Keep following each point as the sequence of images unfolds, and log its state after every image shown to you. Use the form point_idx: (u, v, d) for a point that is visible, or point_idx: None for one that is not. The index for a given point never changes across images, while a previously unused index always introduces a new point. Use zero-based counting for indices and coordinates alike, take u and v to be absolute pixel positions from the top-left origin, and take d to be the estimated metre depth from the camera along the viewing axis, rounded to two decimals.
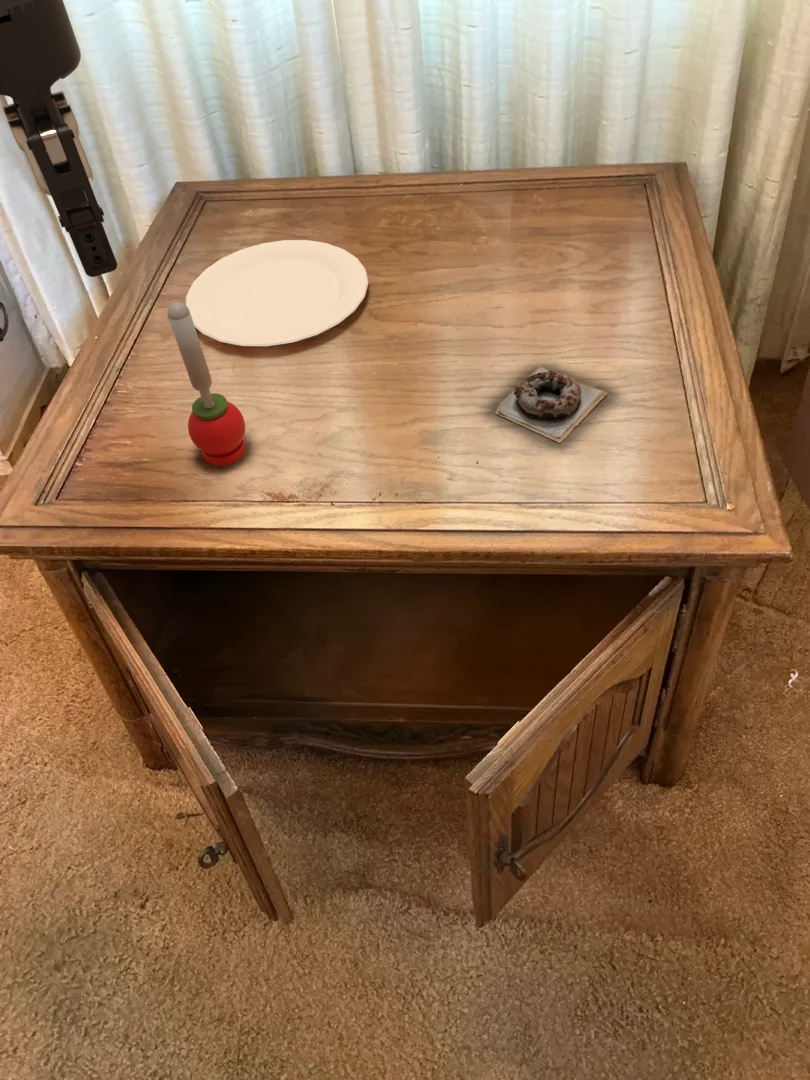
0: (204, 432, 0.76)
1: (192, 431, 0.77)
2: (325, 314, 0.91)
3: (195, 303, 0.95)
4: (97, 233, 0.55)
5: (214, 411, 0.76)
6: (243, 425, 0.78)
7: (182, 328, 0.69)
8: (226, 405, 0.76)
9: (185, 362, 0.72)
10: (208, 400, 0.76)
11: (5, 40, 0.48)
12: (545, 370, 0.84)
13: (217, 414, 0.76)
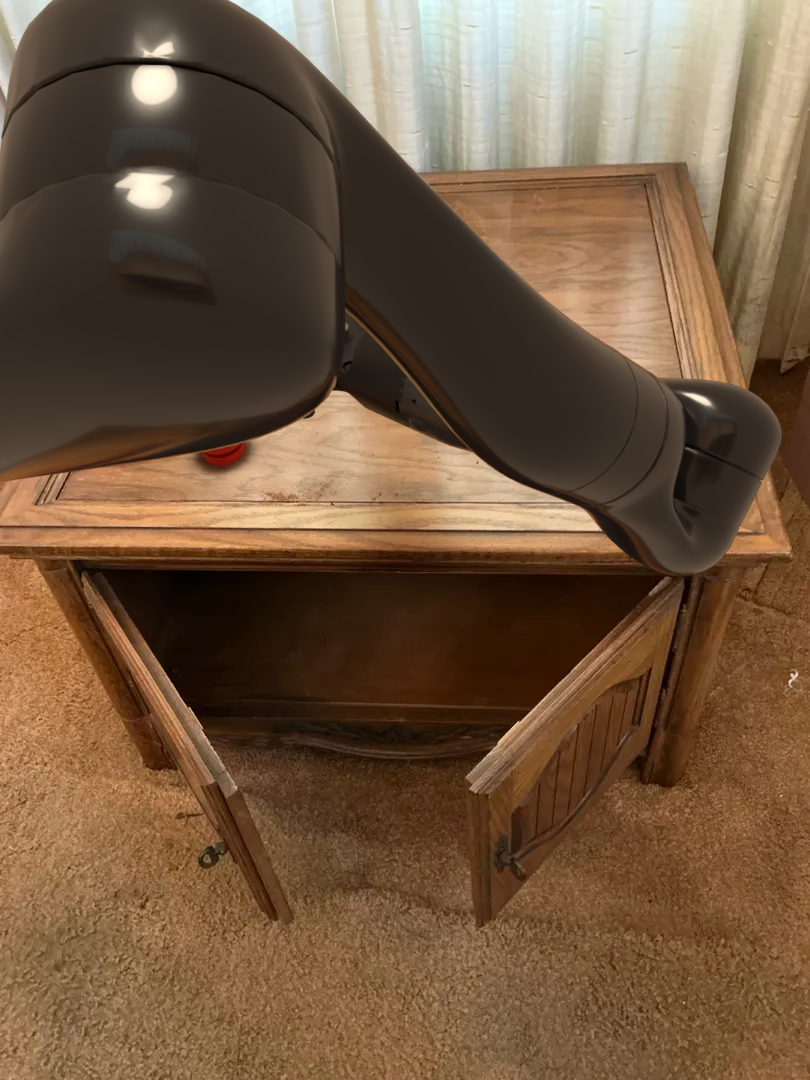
0: None
1: None
2: None
3: None
4: None
5: None
6: None
7: None
8: None
9: None
10: None
11: (384, 398, 0.52)
12: None
13: None
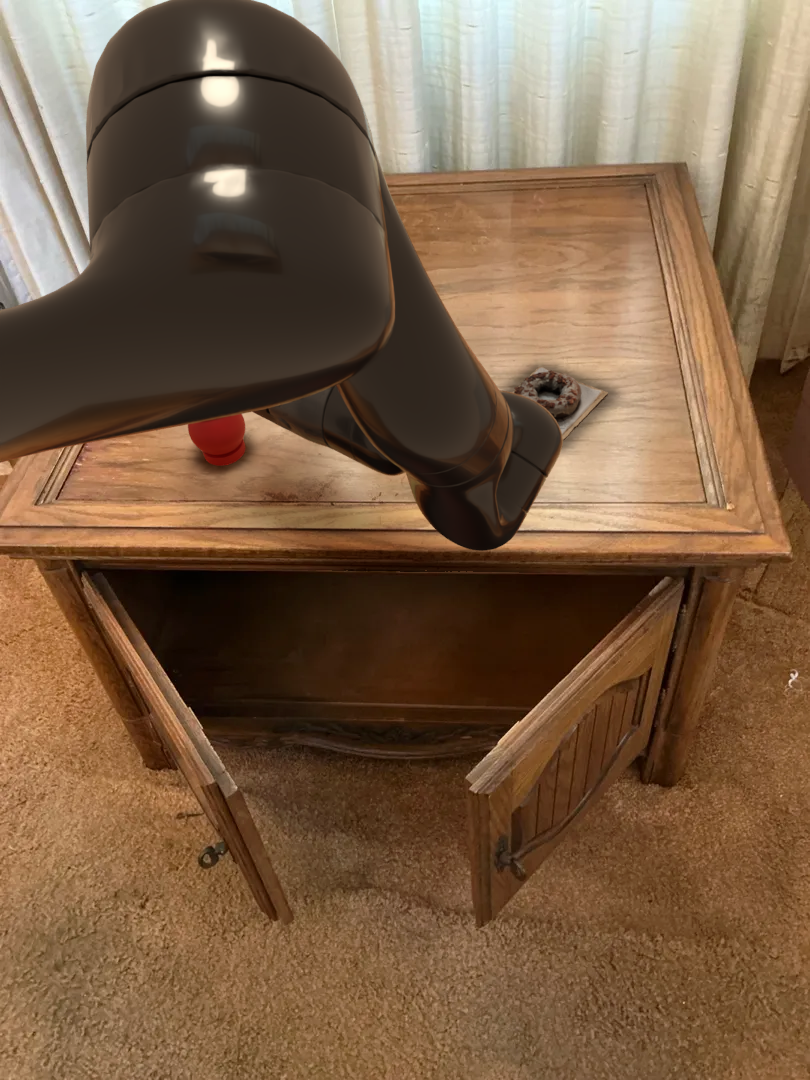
0: (204, 431, 0.76)
1: (192, 431, 0.77)
2: None
3: None
4: None
5: None
6: (243, 425, 0.78)
7: None
8: None
9: None
10: None
11: None
12: (545, 370, 0.84)
13: None
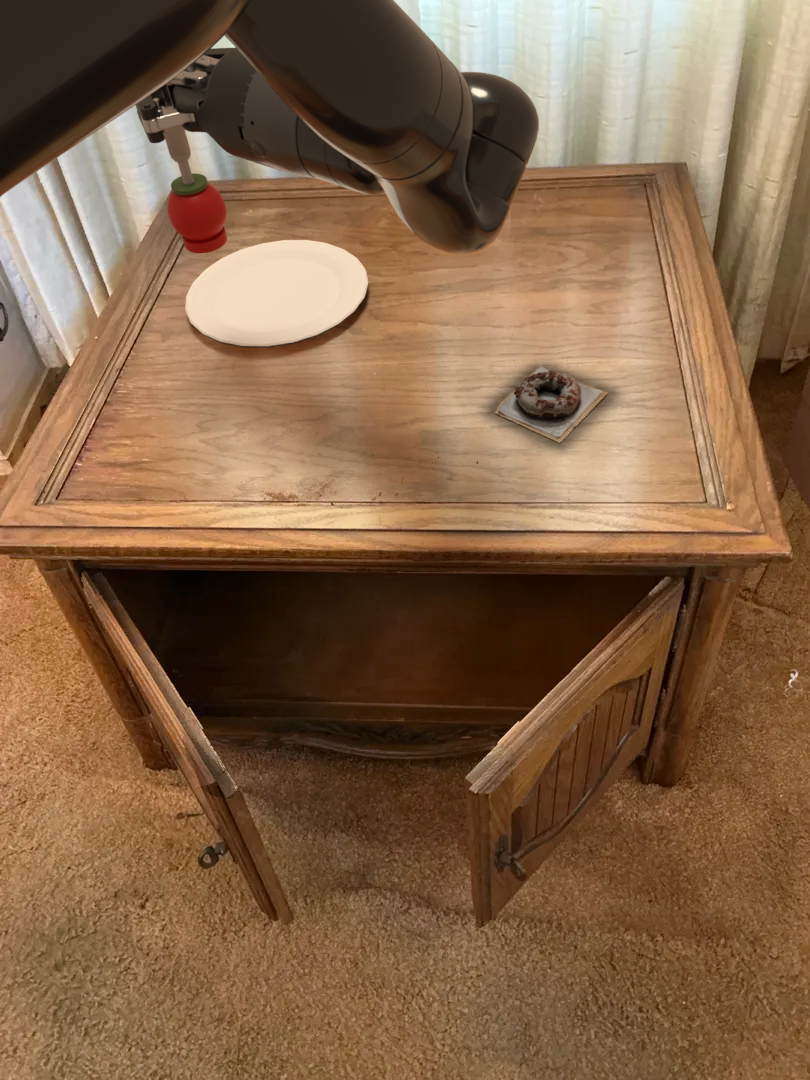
0: (184, 208, 0.74)
1: (171, 210, 0.75)
2: (325, 314, 0.91)
3: (195, 302, 0.95)
4: None
5: (193, 186, 0.74)
6: (224, 208, 0.76)
7: None
8: (206, 182, 0.75)
9: None
10: (187, 175, 0.74)
11: (231, 126, 0.61)
12: (545, 370, 0.84)
13: (196, 189, 0.74)
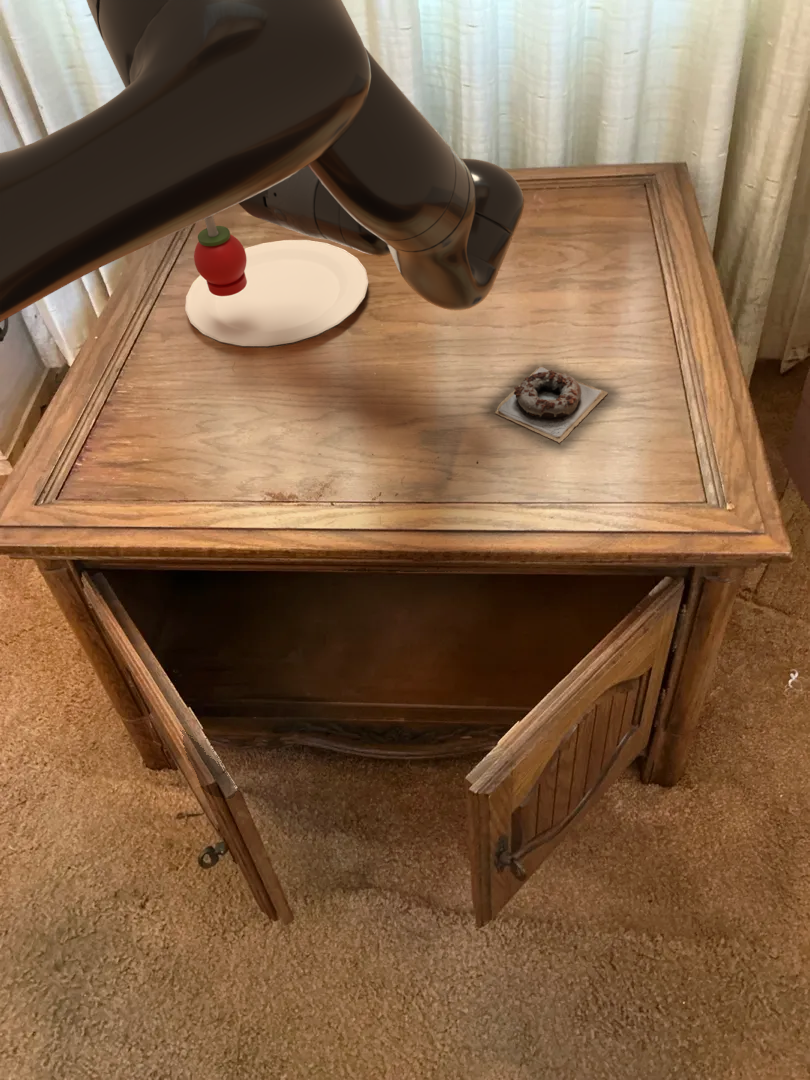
0: (209, 258, 0.83)
1: (197, 259, 0.84)
2: (325, 314, 0.91)
3: (195, 302, 0.95)
4: None
5: (218, 238, 0.83)
6: (244, 256, 0.85)
7: None
8: (229, 234, 0.84)
9: None
10: (212, 228, 0.83)
11: (256, 196, 0.70)
12: (545, 370, 0.84)
13: (221, 241, 0.83)
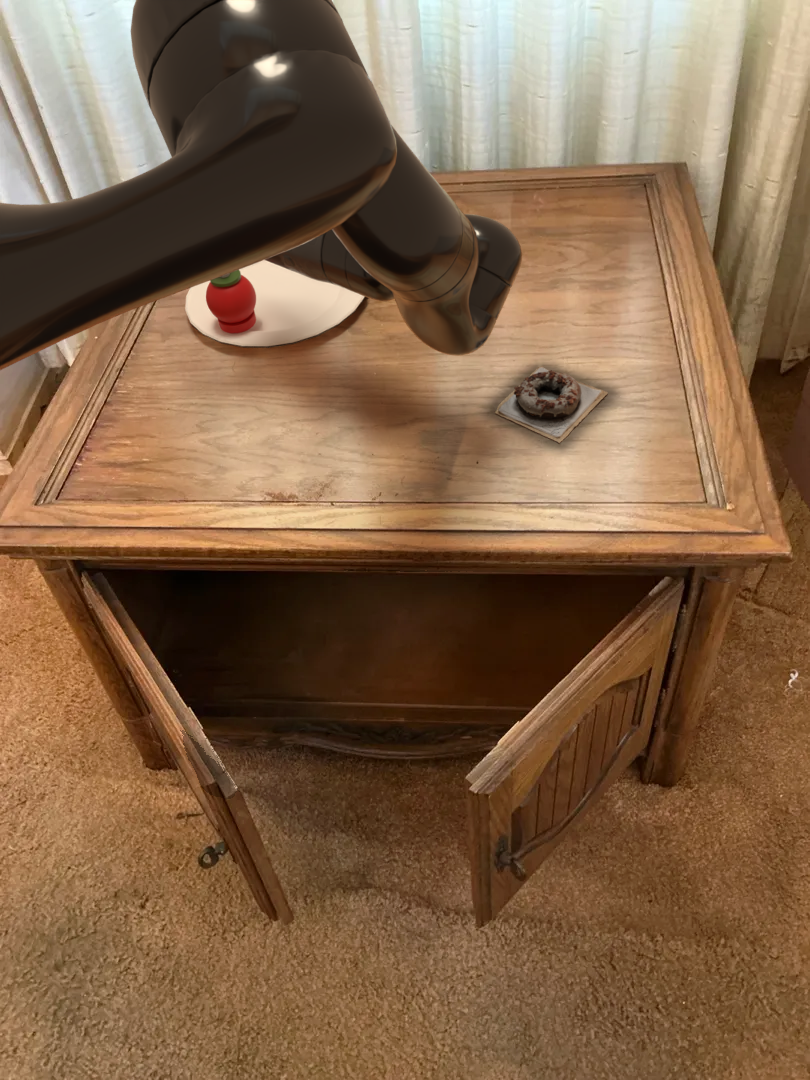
0: (221, 298, 0.87)
1: (209, 299, 0.88)
2: (325, 314, 0.91)
3: (195, 302, 0.95)
4: None
5: (229, 279, 0.87)
6: (254, 295, 0.89)
7: None
8: (240, 275, 0.87)
9: None
10: None
11: None
12: (545, 370, 0.84)
13: (232, 282, 0.86)
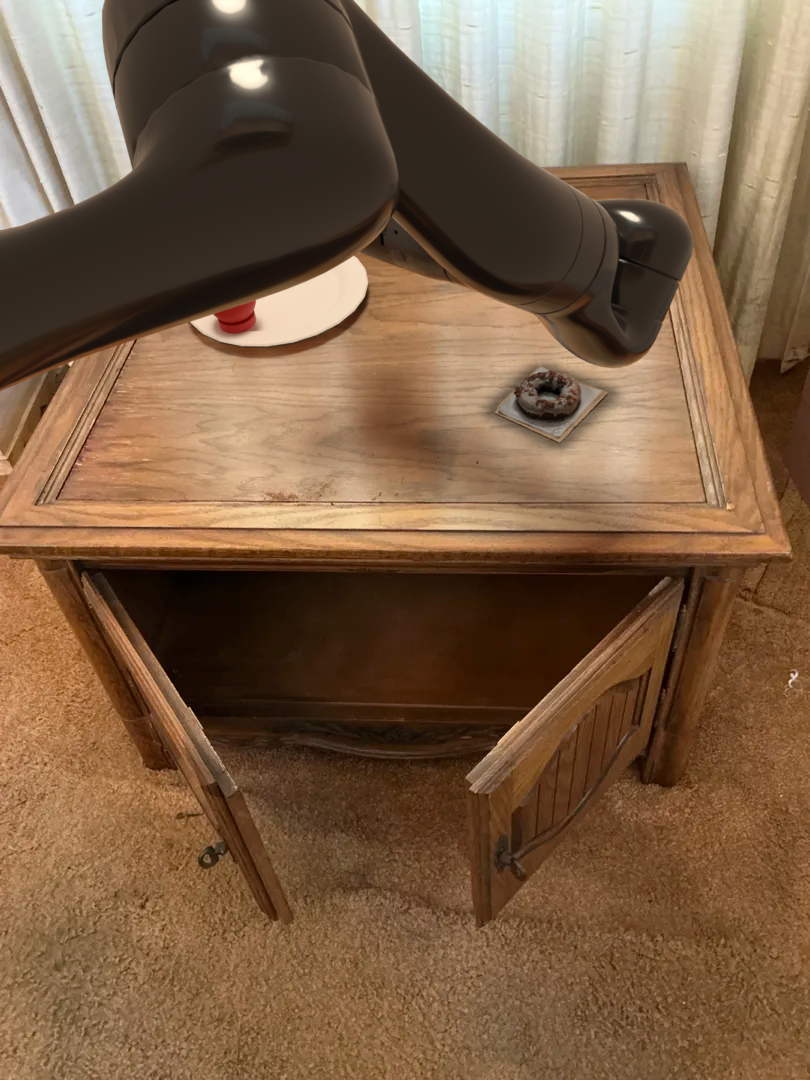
0: None
1: None
2: (325, 314, 0.91)
3: None
4: None
5: None
6: None
7: None
8: None
9: None
10: None
11: None
12: (545, 370, 0.84)
13: None
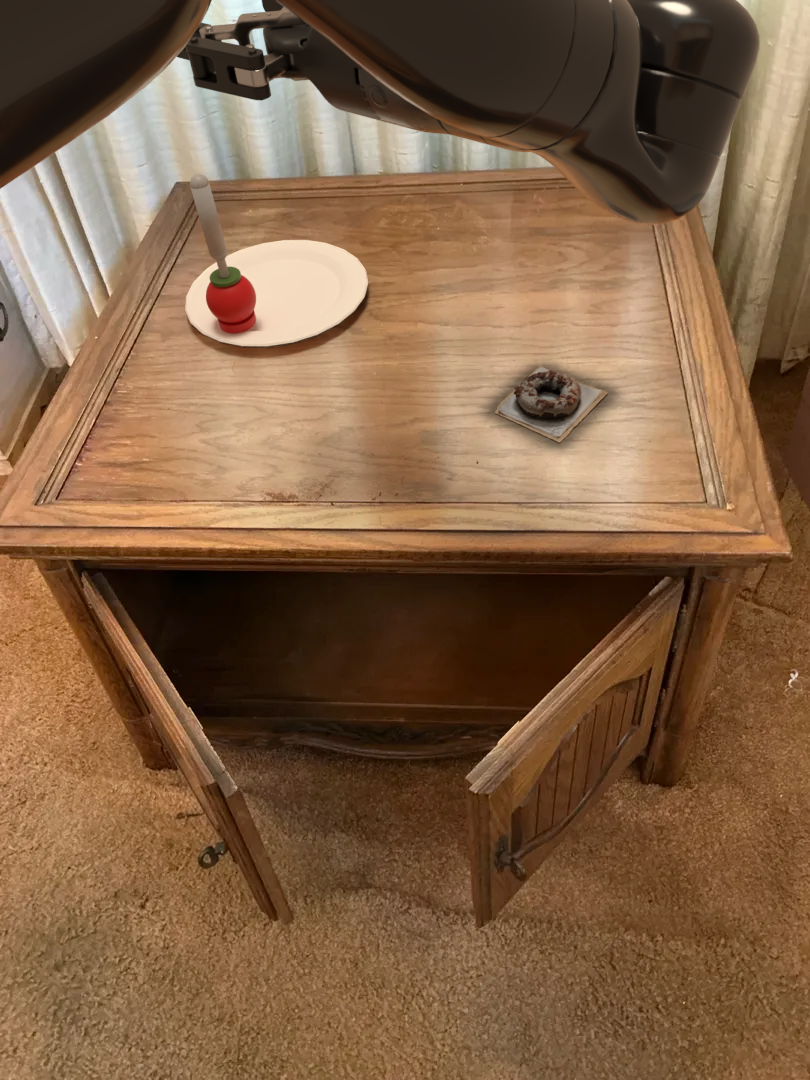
0: (221, 298, 0.87)
1: (209, 299, 0.88)
2: (325, 314, 0.91)
3: (195, 302, 0.95)
4: None
5: (229, 279, 0.87)
6: (254, 295, 0.89)
7: (202, 197, 0.80)
8: (239, 275, 0.87)
9: (204, 231, 0.83)
10: (224, 270, 0.86)
11: (343, 68, 0.49)
12: (545, 370, 0.84)
13: (232, 282, 0.86)
